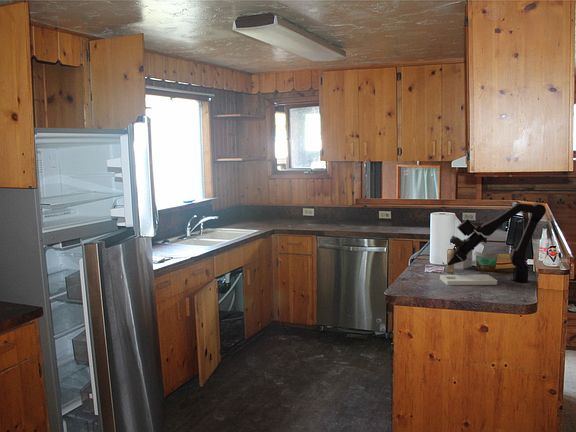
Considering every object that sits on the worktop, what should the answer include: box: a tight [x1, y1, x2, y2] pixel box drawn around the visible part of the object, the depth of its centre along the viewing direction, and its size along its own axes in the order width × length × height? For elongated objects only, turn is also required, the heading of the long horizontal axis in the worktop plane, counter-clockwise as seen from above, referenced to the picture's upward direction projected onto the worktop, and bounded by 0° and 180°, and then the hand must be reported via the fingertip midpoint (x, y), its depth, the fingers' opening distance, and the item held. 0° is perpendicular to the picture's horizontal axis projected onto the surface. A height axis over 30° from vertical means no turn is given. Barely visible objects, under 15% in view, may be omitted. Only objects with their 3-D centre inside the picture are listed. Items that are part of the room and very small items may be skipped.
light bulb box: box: [454, 250, 474, 270], centre depth 291 cm, size 11×7×11 cm, turn 136°
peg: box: [446, 249, 455, 275], centre depth 269 cm, size 4×4×14 cm
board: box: [439, 274, 498, 286], centre depth 260 cm, size 24×12×2 cm, turn 91°
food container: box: [473, 251, 500, 273], centre depth 282 cm, size 12×6×10 cm, turn 73°
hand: (447, 262), depth 269 cm, fingers open, 9 cm apart
